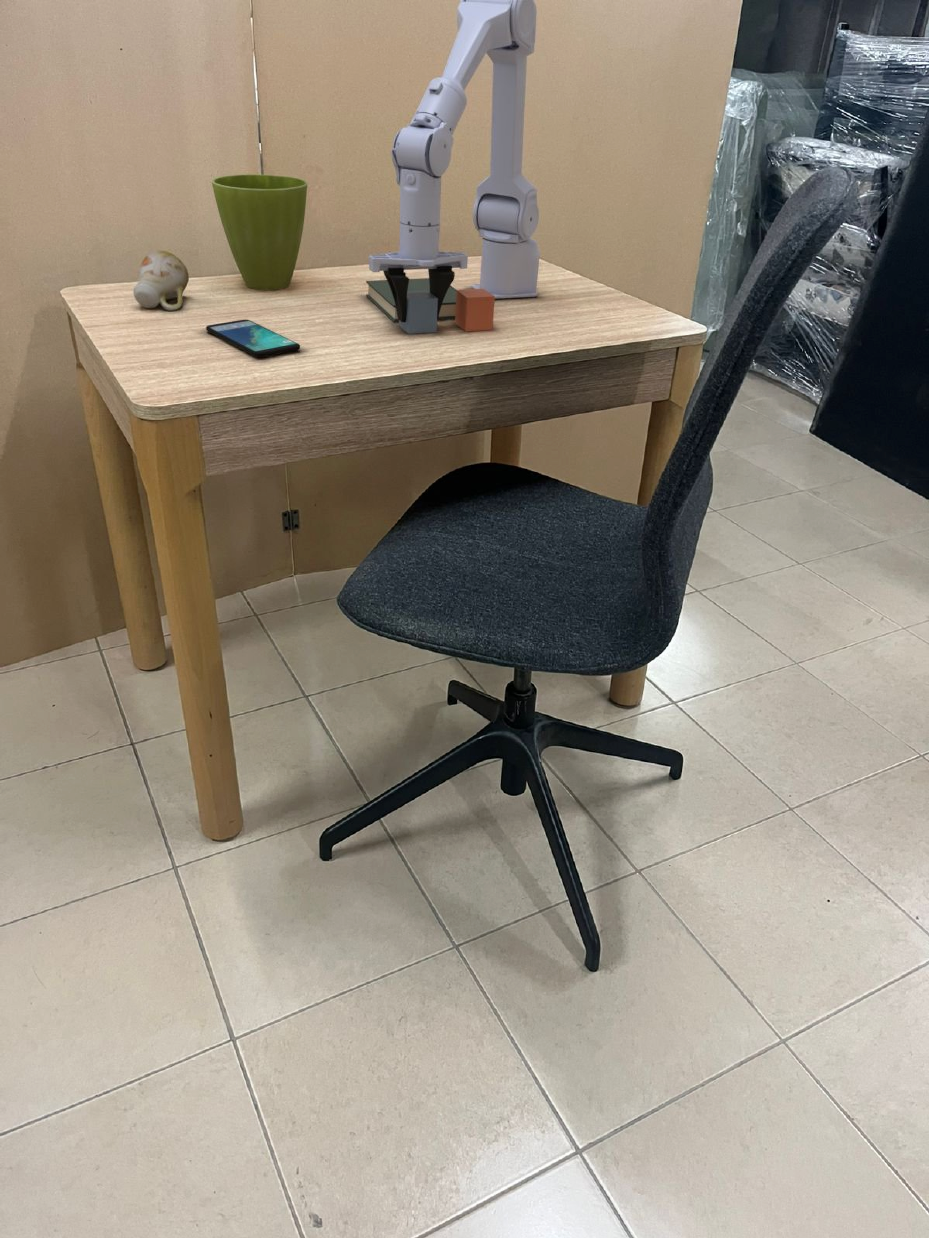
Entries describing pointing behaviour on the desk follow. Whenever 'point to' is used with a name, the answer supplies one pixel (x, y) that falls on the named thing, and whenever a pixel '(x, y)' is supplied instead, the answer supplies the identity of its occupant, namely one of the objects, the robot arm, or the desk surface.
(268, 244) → the flower pot
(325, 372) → the desk surface
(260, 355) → the smartphone
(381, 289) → the book
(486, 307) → the terracotta block
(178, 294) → the mug
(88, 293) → the desk surface
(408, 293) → the slate block
